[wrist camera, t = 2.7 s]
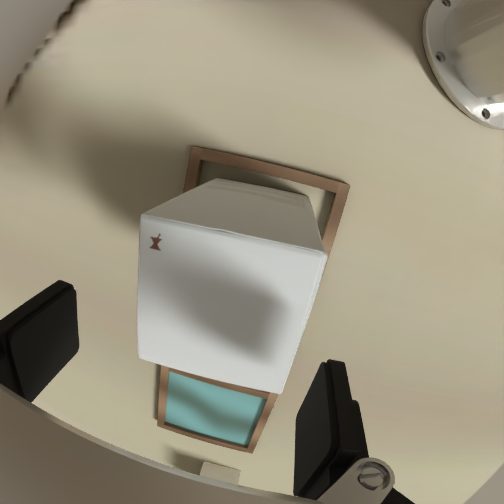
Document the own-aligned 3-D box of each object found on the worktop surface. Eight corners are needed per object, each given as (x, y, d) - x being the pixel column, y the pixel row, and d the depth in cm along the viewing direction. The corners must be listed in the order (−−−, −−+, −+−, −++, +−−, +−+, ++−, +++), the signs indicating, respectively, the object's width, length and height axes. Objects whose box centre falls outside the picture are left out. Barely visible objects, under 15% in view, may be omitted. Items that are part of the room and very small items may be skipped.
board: (195, 146, 23) (191, 146, 22) (348, 184, 22) (350, 185, 22) (159, 421, 33) (157, 425, 33) (253, 448, 33) (252, 453, 32)
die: (202, 460, 35) (193, 490, 30) (240, 469, 35) (234, 500, 30) (198, 475, 37) (190, 503, 32) (233, 484, 37) (227, 512, 32)
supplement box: (201, 265, 26) (131, 359, 14) (215, 175, 23) (135, 207, 12) (290, 287, 26) (282, 400, 14) (313, 196, 23) (331, 251, 11)
